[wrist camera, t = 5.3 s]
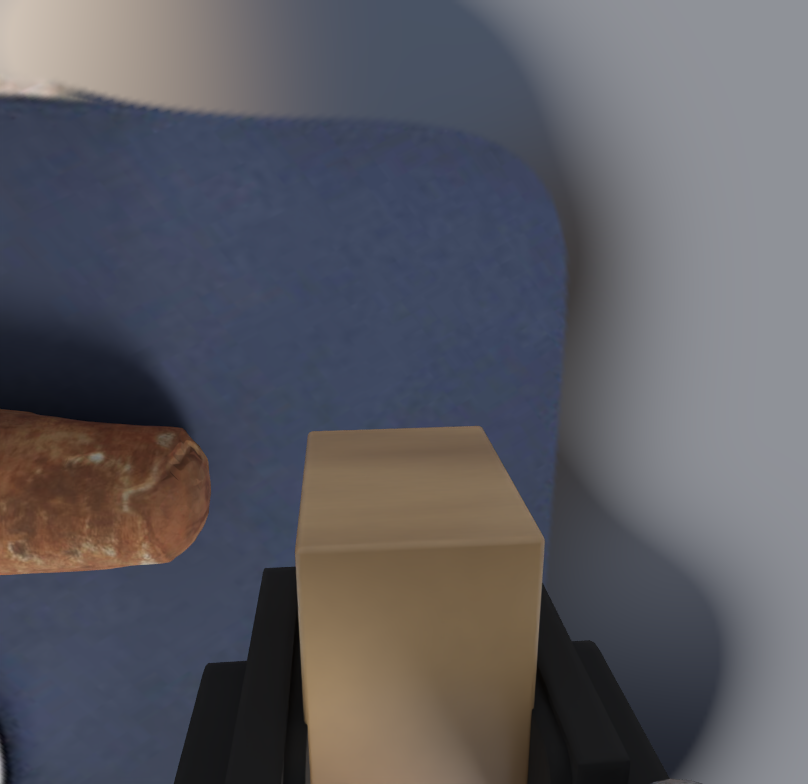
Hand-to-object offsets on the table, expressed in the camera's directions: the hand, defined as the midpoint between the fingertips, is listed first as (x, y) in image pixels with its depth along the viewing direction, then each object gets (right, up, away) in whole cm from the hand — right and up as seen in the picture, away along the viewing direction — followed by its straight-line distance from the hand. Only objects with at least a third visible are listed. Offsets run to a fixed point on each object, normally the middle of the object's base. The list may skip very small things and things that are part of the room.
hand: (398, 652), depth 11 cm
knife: (0, -4, +1) cm, 4 cm away
